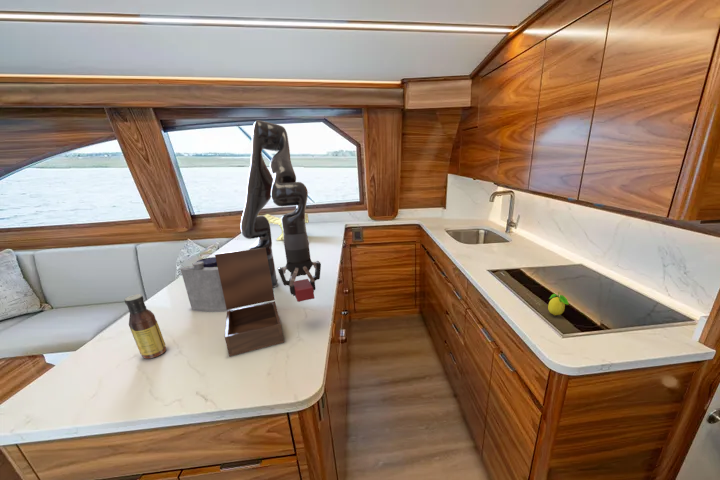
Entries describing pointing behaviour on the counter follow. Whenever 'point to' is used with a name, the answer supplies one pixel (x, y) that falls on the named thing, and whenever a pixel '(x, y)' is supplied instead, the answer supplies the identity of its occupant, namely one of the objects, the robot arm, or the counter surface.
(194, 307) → the hip flask
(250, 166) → the robot arm
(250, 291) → the chest lid
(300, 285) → the book
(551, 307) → the lemon
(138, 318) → the sauce bottle
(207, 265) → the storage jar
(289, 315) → the counter surface
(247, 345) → the chest
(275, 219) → the slatted curved stool
